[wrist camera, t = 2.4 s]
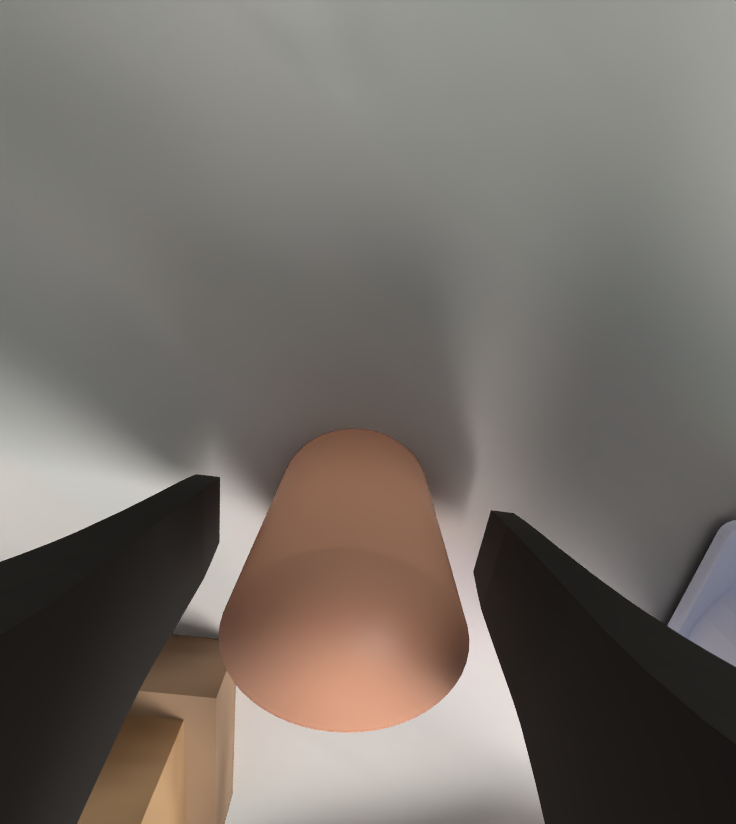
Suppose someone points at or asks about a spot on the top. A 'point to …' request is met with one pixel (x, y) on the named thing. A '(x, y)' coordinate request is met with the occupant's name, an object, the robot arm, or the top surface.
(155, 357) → the top surface
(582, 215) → the top surface
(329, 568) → the peach capsule
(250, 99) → the top surface
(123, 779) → the top block
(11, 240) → the top surface
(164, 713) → the bottom block
